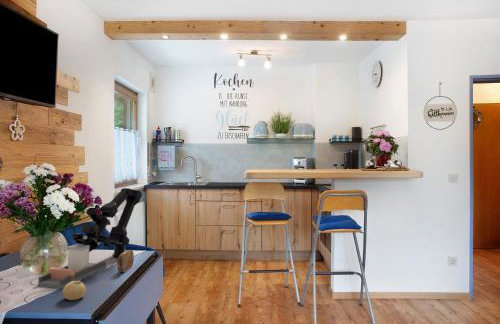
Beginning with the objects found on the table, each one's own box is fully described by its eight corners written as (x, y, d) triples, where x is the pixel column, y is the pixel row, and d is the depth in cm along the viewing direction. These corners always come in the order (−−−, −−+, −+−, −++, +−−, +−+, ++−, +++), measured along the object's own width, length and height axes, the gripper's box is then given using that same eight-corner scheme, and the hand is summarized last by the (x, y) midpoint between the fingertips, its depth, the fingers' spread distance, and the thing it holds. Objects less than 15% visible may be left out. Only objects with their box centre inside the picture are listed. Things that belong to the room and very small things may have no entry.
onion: (64, 304, 127) (64, 285, 127) (60, 297, 134) (61, 278, 134) (87, 299, 132) (88, 281, 132) (83, 292, 138) (83, 275, 138)
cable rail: (84, 265, 172) (84, 254, 172) (105, 267, 169) (106, 256, 169) (38, 285, 145) (38, 272, 145) (62, 288, 142) (62, 275, 142)
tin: (122, 274, 160) (123, 256, 160) (115, 274, 160) (116, 256, 160) (134, 264, 175) (134, 247, 175) (128, 264, 175) (128, 247, 175)
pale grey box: (75, 267, 163) (76, 244, 163) (89, 269, 161) (89, 245, 161) (67, 271, 158) (67, 246, 157) (81, 272, 156) (81, 248, 156)
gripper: (74, 216, 169) (56, 244, 159) (108, 219, 165) (92, 247, 154) (85, 229, 177) (69, 257, 166) (118, 232, 173) (103, 260, 162)
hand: (82, 255), depth 162 cm, fingers closed, pressing on pale grey box
